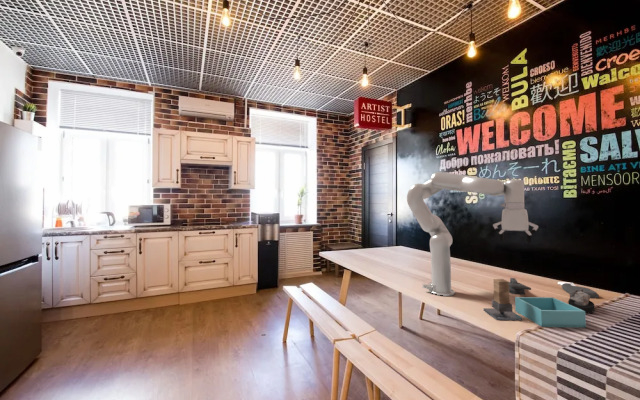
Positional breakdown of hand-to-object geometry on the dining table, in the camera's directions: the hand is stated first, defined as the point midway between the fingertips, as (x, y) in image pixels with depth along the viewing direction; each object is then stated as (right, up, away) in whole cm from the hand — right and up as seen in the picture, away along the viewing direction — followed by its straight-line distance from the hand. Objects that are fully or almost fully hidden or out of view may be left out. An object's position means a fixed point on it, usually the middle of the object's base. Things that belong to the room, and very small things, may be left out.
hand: (515, 243), depth 128 cm
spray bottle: (+44, -29, +17) cm, 55 cm away
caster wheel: (+24, -28, -8) cm, 38 cm away
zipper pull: (+11, -29, +15) cm, 34 cm away
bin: (+1, -28, -17) cm, 33 cm away
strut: (-15, -26, -13) cm, 32 cm away
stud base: (-15, -28, -13) cm, 34 cm away
